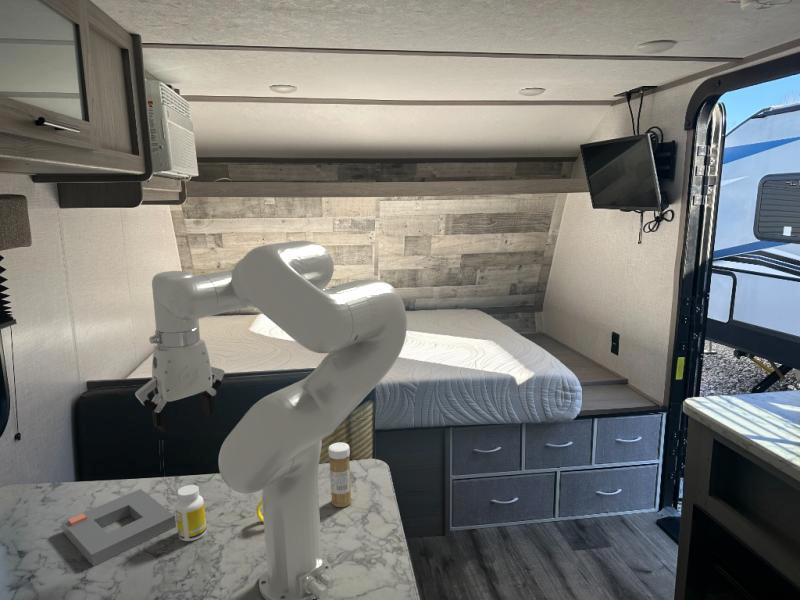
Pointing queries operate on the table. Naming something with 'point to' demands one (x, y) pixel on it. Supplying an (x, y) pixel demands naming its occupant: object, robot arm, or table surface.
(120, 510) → the block with square hole
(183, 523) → the supplement bottle
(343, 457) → the sprinkles bottle
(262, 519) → the watch
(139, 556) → the table surface
